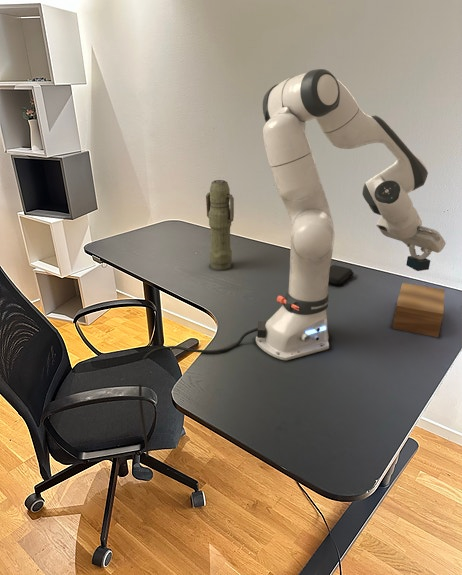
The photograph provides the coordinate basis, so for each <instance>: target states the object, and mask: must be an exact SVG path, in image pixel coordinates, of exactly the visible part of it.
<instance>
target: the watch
mask: <svg viewBox="0 0 462 575" xmlns="http://www.w3.org/2000/svg"><path fill="white" fill-rule="evenodd" d="M408 251H409V254H410V255H408V256H407V259H406V264H405V265H406V267H409V268H411V269H412V270H414V271H417V272H420V271H427V270H428V271H429V270H430V266H431V260H430V259H428V257H429V256H430V255H431V253H432V252H433V251H430V250H428V251H427V253H425V252H422V253H421V254H417V250H416V246H415V245H412V244H410V245H409V247H408Z"/></svg>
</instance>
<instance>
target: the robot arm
mask: <svg viewBox="0 0 462 575" xmlns="http://www.w3.org/2000/svg"><path fill="white" fill-rule="evenodd" d="M262 113H263V117H264V121H265V124H264V125H263V127H262V137H263V144H264V149H265V154H266V157H267V161H268V165H269V167H270V170H271V174H272V176H273V179H274V183H275V186H276V189H277V192H278V195H279V197H280V199H281V201H282V202H283V205H284V206H285V209H286V211H287V214H288V216H289V220H290V223H291V233H290V234H291V235H290V254H289V277H288V289H287V291H286V294H285V297H283V296H282V295H277V298H276V302H278V303H280V304H281V306H280V307H279V308H278V309H277V311H275V313H274V314H273V315H272V316H271V317H270V318H269V319H268V320H261V321H260V320H258V321H257V327H255V328H252V329H250V330H247V331H245V332H244V333H243V334H242V335H241V336H240V338H239V339H238V341H236V342H235V343H234V344H232V345H231V346H228V347H224V348H220V349H196V348H189V347H186V346H185V347H184V346H180V345H168V346H160V347H156V348H154V349H152V350H150V351H148V352H147V353H146V354H145V355H144V356H143V358H142V360H143V361H144V360H147V359H148V358H149V357H150V356H151V355H152V354H154V353H156V352H160V351H162V350H163V351H165V350H180V351H185V352H190V353H191V352H192V353H201V354H217V353H221V352H222V353H223V352H228V351H230V350H232V349H235V348H236V347H238V346H239V345H240V344H241V343H242V342H243V340H244V338H245V337H247V336H248V335H250V334H252V333H255V332H257V335H256V336H255V344H256V345H257V346H258V348H260V349H261V350H262V351H263V352H265V353H266V354H267V355H270V356H271V357H273V358H275V359H278V360H281V361H291V360H293V359H297V358H301V357H304V356H309V355H311V354H316V353H318V352H323V351H326V350H328V349H330V342H329V338H330V335H329V330H328V314H327V309H328V307H329V301H330V300H329V292H328V290H329V284H328V282H329V272H330V266H332V265H331V264H332V259H333V251H334V244H335V235H336V234H335V226H334V219H333V215H332V212H331V209H330V206H329V202H328V199H327V196H326V193H325V190H324V186H323V184H322V181H321V177H320V175H319V174H320V173H319V171H318V167H317V164H316V161H315V157H314V153H313V150H312V148H311V144H310V142H309V139H308V136H307V134H306V124H307V122H310V121H312V120H316V122H317V124H318V126H319V128H320V130H321V131H322V133H323V135H324V136H325V138H327V140H328V141H329V142H330V143H331V145H332V146H333V147H336V148H337V149H342V150H352V149H357V148H360V147H363V146H367V145H372V144H383V145H384V146H385V147H386V148H387V150H389V152H391V154H392V155H393V156H394V157H395V159H396V160H395V161H394V163H392V164H391V165H389V166H388V167H387V168H385V169H383V170H382V171H381V172H379V173H377V174H376V175H374V176H372V177H371V178H369V179H368V180H367V181H366V182H364V184H363V188H362V197H363V198H364V200H365V202H366V203H367V204H368V207H369V209H370V210H371V211H372V213H373V214H376V215H379V216H380V217H379V218H378V220H377V222H376V224H375V225H376V227H377V228H378V229H379V231H380V232H381V234H382V235H383V236H385V237H387V238H390V239H394V240H397V241H399V242H402V243H403V244H405V245H406V246H407V248H409V245H410V244H412V245H415V247H418V248H420V251H421V252H422V253H424V252H425V253H427V251H428V250H430V251H432V252H434V253H437V254H438V253H440V252H442V250H443V249H444V248H445V246H446V245H447V244H446V242H447V241H446V240H445V239H444V237H443V236H442V235H441V233H440V232H439V231H438V230H435V229H434V228H430V227H427V226H423V225H422V224H423V221H422V219H421V217H420V215H419V213H418V210H417V209H416V208H415V207H414V204H413V200H412V199H411V197H410V195H409V193H411V192H413V191H416V190H417V189H419V188H421V187H423V186H424V185H425V183H426V181H427V178H428V175H429V172H428V169H427V166H426V165H425V163H424V162H423V161H422V160H421V159H420V158H419V157H418V156H416V155H415V154H414V153H413V152H412V151H411V150H410V148H409V147H408V146H407V145H406V144H405V142H404V141H403V140H402V139H401V138H400V137H399V136H398V134H397V133H396V132H395V131H394V129H393V128H392V127H391V126H390V125H389V124H388V123H387V122H386V121H385V120H383V118H381V117H380V116H378V115H376V114H375V115H369V114H368V113H367V114H366V113H365V112H364V111H363V110H362V108H361V107H360V105H359V104H358V101H357V100H356V99H355V98H354V96H353V94H352V93H351V92H350V91H349V89H348V88H347V87H346V86H345V84H343V83H342V82H341V80H340V79H338V78H336V77H335V75H334V74H333V73H332V72H331V71H329V70H327V69H322V68H317V69H316V68H315V69H311V70H309V71H307V72H305V73H301V74H298V75H294V76H291V77H289V78H287V79H285V80H283V81H281V82H280V83H277V84H274V85H273V86H271V87H270V88H269V89H268V90H267V91H266V93H265V94H264V96H263V99H262ZM142 388H143V386H142V384H141V382H139V383H138V397H139V396H142V397H143V394H142V393H143V392H142V391H143V389H142ZM138 402H139V403H138V404H139V412H140V421H141V426H142V427H141V428H142V433H143V440H144V441H143V442H144V448H145V457H146V458H148V457H149V456H150V454H149V443H148V437H147V430H146V424H145V417H144V409H143V399H142V400H139V399H138Z"/></svg>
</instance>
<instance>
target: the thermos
mask: <svg viewBox="0 0 462 575" xmlns="http://www.w3.org/2000/svg"><path fill="white" fill-rule="evenodd" d="M230 192H231V191H230V186H229V182H228V181H226V180H223V179H216V180H215V179H214V180H213V181H211V184H210V186H209V192H207V194H206V195H205V202H206V204H205V205H206V217H207V218H208V226H209V228H210V249H209V262H210V268H211V269H212V270H214V271H226V270H229V269H231V268H232V261H233V260H232V259H233V255H232V248H231V228H232V222H234V217H235V216H234V215H235V198H234V196H233V195H232V194H231V193H230Z"/></svg>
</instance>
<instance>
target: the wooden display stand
mask: <svg viewBox="0 0 462 575" xmlns="http://www.w3.org/2000/svg"><path fill="white" fill-rule="evenodd" d="M399 290H400V291H399V293H398V298H397V301H396V306H395V312H394V317H393V322H392V329H394V330H399V331H403V332H408V333H409V332H410V333H414V334H418V335H419V334H420V335H424V336H428V337H434V338H439V335H440V331H441V326H442V322H443V318H444V310H445V291H446V290H445V289H443V288H437V287H432V286H425V285H419V284H412V283H406V282H402V283H401V287H400V289H399Z"/></svg>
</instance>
